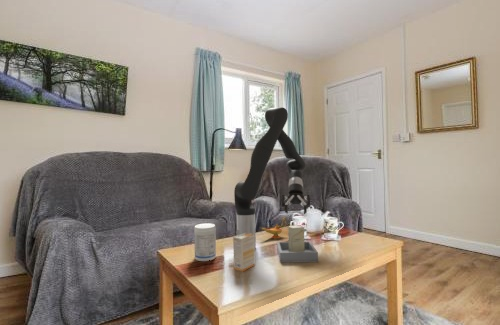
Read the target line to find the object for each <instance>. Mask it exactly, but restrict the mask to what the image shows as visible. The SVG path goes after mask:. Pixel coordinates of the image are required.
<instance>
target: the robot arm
mask: <svg viewBox="0 0 500 325" xmlns="http://www.w3.org/2000/svg"><path fill="white" fill-rule="evenodd" d="M288 118H289V113H288V110H287V109H286V108H285V107H281V106H278V107H271V108H267V110H266V111H265V112H264V119H265V123H266V124H267V125H268V127H269V128H268V129H267V131H266V132H265V133H264V134H263V135H262V136H261V137H260V139H258V141H257V142H256V144H255V146H254V148H253V151H252V153H251V156H250V165H249V166H250V167H249V172H248V173H247V177H246V178H245V180H242V181H239V182H237V183H236V185H235V187H234V191H233V193H234V194H233V196H234V207H235V211H236V232H235V233H236V236H237V235H240V234H243V233H251V234H254V250H256V249H257V248H256V246H257V243H256V242H257V241H256V240H257V237H256V208H255V207H254V205H253V202H252V201H253V200H254V199H255V198H256V196H257V195H258V191H259V189H260V185H261V182H262V179H263V176H264V173H265V170H266V168H267V166H268V164H269V161H270V159H271V156H272V154H273V151H274V148H275V146H276V144H277V142H278V143H279V145H280V147H281V149H282V152H283V154H284V157H285V158H286V159H287V160H288V161H287V162H286V165H285V166H286V168H287V172H288V174H289V176H288V178H289V180H288V195H285V194H282V196H281V203H280V204H281V207H283V208H284V213H285V214H288V213H289V207H290V206H291V205H299V204H300V205H301V206H302V207H303V214H304V215H305V214H307V212H308V211H307V210H308V208H310V207H311V200H310V194H306V195H304V185H303V172H301V171H303V170H305V169H306V162H305V160H304V158H302V157H301V155H300V154H299V152H298V150H297V149H296V146H295V143H294V142H293V140H292V138H290V136H289V135H288V134H287V133H286V132H285V130H284V127H285V125H286V124H287V121H288ZM286 200H287V201H286ZM285 201H286V202H285ZM305 201H306V202H305Z"/></svg>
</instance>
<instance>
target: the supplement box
mask: <svg viewBox="0 0 500 325" xmlns="http://www.w3.org/2000/svg"><path fill="white" fill-rule="evenodd" d="M232 243H233V248H232V249H233V269H234V270H236V271H240V272H244V271H246V270H248V269H250V268H251V267H255V265H256V260H255V259H256V257H255V256H256V255H255V254H256V253H255V252H256V251H255V250H256V249H254V234H251V233H243V234H240V235H237V234H236V235H235V236H232Z"/></svg>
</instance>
